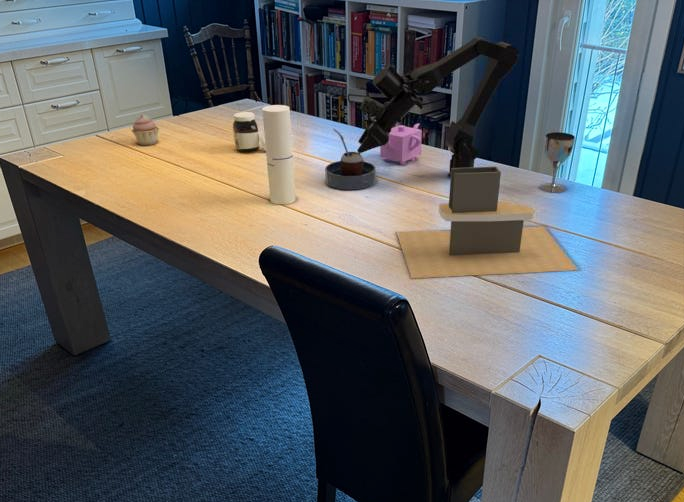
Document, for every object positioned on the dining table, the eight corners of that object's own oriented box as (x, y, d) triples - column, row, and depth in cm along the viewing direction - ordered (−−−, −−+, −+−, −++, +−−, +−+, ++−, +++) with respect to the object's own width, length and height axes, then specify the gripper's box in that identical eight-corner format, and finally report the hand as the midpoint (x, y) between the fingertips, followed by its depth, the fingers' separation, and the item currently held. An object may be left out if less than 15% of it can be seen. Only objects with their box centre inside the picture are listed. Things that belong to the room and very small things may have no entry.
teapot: (423, 167, 214) (424, 132, 208) (381, 167, 214) (381, 132, 208) (418, 152, 227) (419, 119, 221) (378, 153, 226) (379, 120, 220)
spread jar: (232, 147, 233) (228, 112, 226) (264, 143, 237) (261, 108, 230) (242, 157, 224) (238, 120, 217) (275, 152, 228) (272, 116, 221)
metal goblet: (535, 190, 196) (542, 138, 188) (542, 181, 202) (550, 130, 194) (562, 194, 193) (571, 141, 185) (569, 186, 199) (577, 134, 191)
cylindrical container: (291, 205, 188) (284, 112, 174) (266, 203, 189) (258, 111, 175) (298, 196, 193) (292, 105, 179) (274, 194, 195) (267, 104, 181)
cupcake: (133, 140, 240) (127, 111, 234) (160, 138, 242) (155, 109, 236) (134, 148, 232) (128, 118, 227) (162, 145, 235) (156, 116, 229)
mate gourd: (367, 183, 201) (367, 131, 193) (342, 186, 199) (341, 134, 190) (358, 175, 207) (357, 125, 199) (334, 178, 205) (332, 128, 196)
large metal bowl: (385, 179, 204) (385, 166, 202) (355, 194, 194) (355, 179, 192) (346, 170, 212) (346, 157, 209) (315, 183, 202) (314, 169, 200)
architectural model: (543, 226, 174) (555, 149, 163) (578, 270, 153) (594, 185, 142) (396, 232, 171) (398, 155, 160) (411, 278, 150) (414, 192, 139)
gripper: (377, 79, 195) (340, 118, 202) (377, 94, 180) (336, 136, 186) (404, 108, 200) (367, 145, 206) (405, 125, 184) (365, 164, 191)
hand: (358, 147), depth 197 cm, fingers open, 9 cm apart
